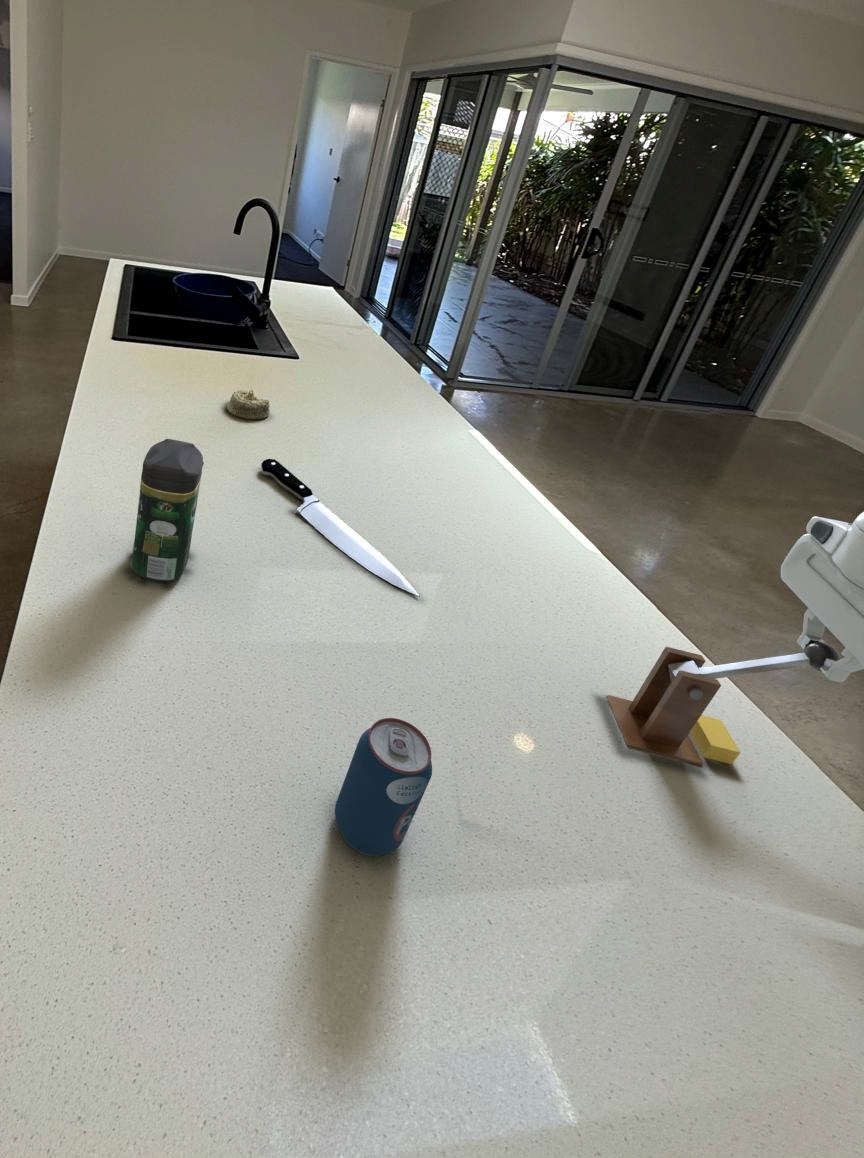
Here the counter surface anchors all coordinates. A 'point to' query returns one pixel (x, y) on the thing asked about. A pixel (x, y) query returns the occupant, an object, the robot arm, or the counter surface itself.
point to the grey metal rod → (762, 663)
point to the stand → (666, 708)
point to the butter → (714, 740)
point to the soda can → (383, 786)
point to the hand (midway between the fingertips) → (817, 662)
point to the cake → (248, 405)
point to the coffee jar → (166, 510)
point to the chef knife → (335, 527)
